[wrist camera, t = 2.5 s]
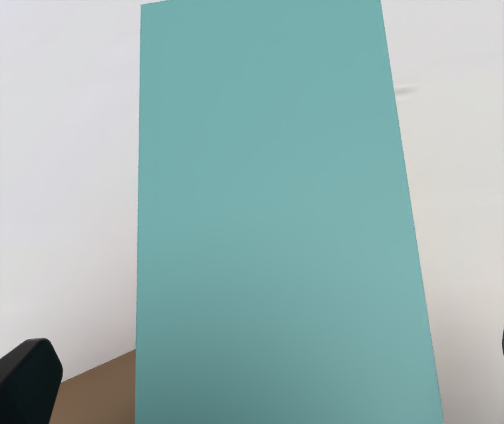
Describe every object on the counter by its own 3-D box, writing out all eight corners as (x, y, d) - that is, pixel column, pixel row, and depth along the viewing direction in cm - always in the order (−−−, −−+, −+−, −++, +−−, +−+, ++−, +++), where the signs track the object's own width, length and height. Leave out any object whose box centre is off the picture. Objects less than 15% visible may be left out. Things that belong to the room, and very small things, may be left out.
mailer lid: (423, 454, 13) (455, 494, 9) (183, 459, 14) (134, 496, 10) (367, 43, 16) (375, -35, 13) (179, 70, 17) (140, 4, 14)
